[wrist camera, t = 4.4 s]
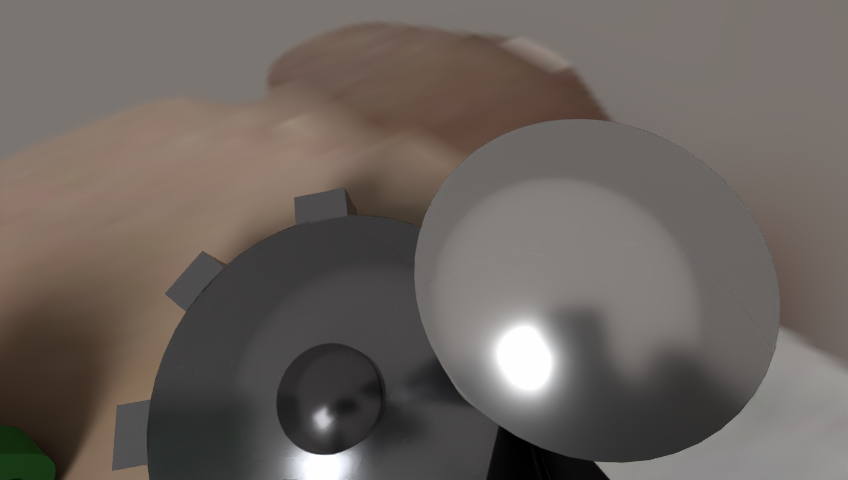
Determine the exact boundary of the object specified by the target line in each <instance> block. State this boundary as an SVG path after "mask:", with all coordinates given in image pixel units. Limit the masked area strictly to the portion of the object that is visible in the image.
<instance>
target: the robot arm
mask: <svg viewBox="0 0 848 480" xmlns="http://www.w3.org/2000/svg"><path fill="white" fill-rule="evenodd" d="M486 480H610V479H609V478H608V477H607V476H606V475H605V473H604V472H603V471H602V470H601V469H600V468H599V467H598V466H597V464H596V463H595V462H594V461H590V460H584V459H579V458H573V457H568V456H565V455H562V454H559V453H555V452H552V451H549V450H546V449H543V448H541V447H538V446H536V445H534V444H532V443H530V442H528V441H526V440H524V439H522V438H519V437H517V436H516V435H514V434H513V433H511V432H509V431H508V430H506V429H505V428H503V427H502V426H500V425H499V426H498V431H497V435H496V439H495V443H494V448H493V452H492V456H491V460H490V465H489V469H488V473H487V477H486Z"/></svg>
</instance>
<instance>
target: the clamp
mask: <svg viewBox="0 0 848 480" xmlns="http://www.w3.org/2000/svg"><path fill="white" fill-rule="evenodd" d="M55 473H56V469H55V465H54V463H53V461H52V460H51V459H50V458H49V457H48V456H47V455H46V454H45V453H44V452H43V451H42V450H41V449H40V448H39V447H38V446H37V445H36V444H35V443H34V442H33V440H32V439H31V438H30V437H29V436H28V435H27V434H26V433H25V432H24V431H22V430H21V429H19V428H16V427H13V426H1V425H0V480H54V479H55Z"/></svg>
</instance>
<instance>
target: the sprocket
mask: <svg viewBox="0 0 848 480" xmlns="http://www.w3.org/2000/svg"><path fill="white" fill-rule="evenodd" d="M294 201H295V215H296V226H293V227H290V228H288V229H285V230H282V231H280V232H278V233H276V234H274V235H272V236H270V237H268V238H266V239H264V240H262V241H260V242H258V243H257V244H255V245H254V246H252V247H251V248H249V249H248V250H246V251H245V252H243V253H242V254H240V255H239V256H238V257H236V258H235V259H234V260H233V261H232V262H230V263H229V264H228V265H226V264H225V263H223V262H221V261H219V260H218V259H216V258H214V257H212V256H210V255H209V254H207V253H205V252H203V251H202V252H201V253H200V254H199V256H198V257H197V258H196V259H195V260H194V261H193V262H192V263H191V265H190V266H189V267H188V268H187V269H186V270H185V271H184V273H183V274H182V275H181V276H180V277H179V278H178V279H177V280H176V282H175V283H174V284H173V285H172V286H171V287H170V288H169V289H168V291H167V292H166V293H165V294H166V295H167V296H168V297H169V298H171V299H172V300H173V301H174V302H175V303H176V304H178V305H179V306H180V307H181V308H182V309H184V310H185V311H186V313H185V315H184V316H183V318H182V320H181V321H180V323H179V325H178V326H177V328H176V330H175V332H174V334H173V336H172V338H171V340H170V342H169V344H168V346H167V348H166V351H165V353H164V355H163V358H162V361H161V364H160V367H159V370H158V373H157V376H156V379H155V383H154V388H153V392H152V396H151V400H146V401H140V402H135V403H129V404H124V405H118V406H117V412H116V425H115V439H114V452H113V465H112V471H113V470H119V469H124V468H130V467H136V466H141V465H147V464H148V472H149V479H150V480H486V477H487V473H488V469H489V465H490V460H491V456H492V452H493V448H494V443H495V439H496V435H497V431H498V426H499V425H500V426H502V427H503V428H505V429H506V430H508V431H509V432H511V433H513V434H514V435H516V436H517V437H519V438H522V439H524V440H526V441H528V442H530V443H532V444H534V445H536V446H538V447H541V448H543V449H546V450H549V451H552V452H555V453H559V454H562V455H565V456H568V457H573V458H579V459H584V460H590V461H596V462H620V463H623V462H633V461H643V460H651V459H655V458H659V457H663V456H666V455H670V454H674V453H677V452H679V451H682V450H684V449H686V448H689V447H691V446H693V445H696V444H698V443H700V442H702V441H703V440H705V439H706V438H708V437H709V436H711V435H713V434H714V433H716V432H717V431H719V430H721V429H722V428H723V427H724V426H725V425H726V424H727V423H728V422H730V421H731V420H732V419H733V418H734V417H735V416H736V415H738V414H739V413H740V411H741V410H742V409H743V408H744V407H745V405H746V404H747V403H748V402H749V400H750V399H751V398H752V397H753V395H754V394H755V393H756V391H757V389H758V387H759V385H760V384H761V382H762V380H763V378H764V377H765V375H766V373H767V370H768V368H769V365H770V362H771V360H772V357H773V354H774V351H775V347H776V342H777V337H778V332H779V325H780V296H779V287H778V279H777V275H776V271H775V267H774V263H773V259H772V256H771V253H770V251H769V248H768V246H767V243H766V241H765V238H764V236H763V234H762V232H761V230H760V228H759V227H758V225H757V223H756V221H755V219H754V218H753V216H752V214H751V213H750V211H749V210H748V209H747V207H746V206H745V205H744V203H743V202H742V200H741V199H740V198H739V196H738V195H737V194H736V193H735V192H734V191H733V190H732V188H731V187H730V186H729V185H728V184H727V183H726V182H725V181H724V180H723V179H722V178H721V177H720V176H719V175H718V174H717V173H716V172H714V171H713V170H712V169H711V168H710V167H708V166H707V165H706V164H705V163H704V162H702V161H701V160H699V159H698V158H696V157H695V156H694V155H692V154H691V153H689V152H688V151H687V150H685V149H683V148H681V147H679V146H678V145H676V144H674V143H672V142H670V141H668V140H666V139H664V138H662V137H659V136H657V135H655V134H652V133H650V132H648V131H645V130H641V129H638V128H635V127H631V126H628V125H624V124H619V123H614V122H609V121H602V120H590V119H562V120H555V121H547V122H541V123H537V124H533V125H529V126H525V127H522V128H519V129H517V130H514V131H511V132H509V133H506V134H504V135H502V136H500V137H498V138H496V139H494V140H492V141H490V142H488V143H487V144H485V145H484V146H482V147H481V148H479V149H478V150H476V151H475V152H474V153H472V154H471V155H470V156H469V157H467V158H466V159H465V160H464V161H463V162H462V163H461V164H460V165H458V166H457V167H456V169H455V170H454V171H453V172H452V173H451V174H450V175H449V177H448V178H447V179H446V180H445V181H444V183H443V184H442V186H441V187H440V189H439V190H438V192H437V193H436V195H435V196H434V198H433V200H432V202H431V204H430V206H429V208H428V210H427V212H426V215H425V217H424V220H423V223H422V226H421V228H419V227H417V226H414V225H412V224H409V223H405V222H401V221H397V220H393V219H389V218H383V217H374V216H366V215H361V216H357V213H356V208H355V206H354V204H353V203H352V201H351V199H350V197H349V195H348V194H347V192H346V190H345V188H342V189H337V190H332V191H327V192H321V193H316V194H311V195H305V196H300V197H295V198H294Z"/></svg>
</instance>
